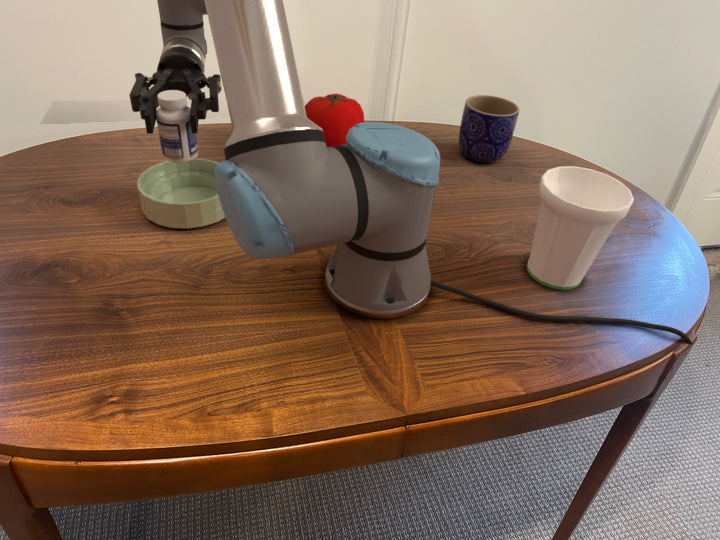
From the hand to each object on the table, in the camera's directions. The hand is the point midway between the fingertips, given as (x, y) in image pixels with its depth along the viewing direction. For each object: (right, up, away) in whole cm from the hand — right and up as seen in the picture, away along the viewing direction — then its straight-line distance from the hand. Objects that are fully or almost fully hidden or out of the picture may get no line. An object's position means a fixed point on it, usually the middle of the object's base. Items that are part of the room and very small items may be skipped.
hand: (171, 124), depth 76 cm
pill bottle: (-2, -3, +9) cm, 9 cm away
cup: (+57, -21, +8) cm, 61 cm away
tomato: (+21, +4, +35) cm, 41 cm away
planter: (+52, +4, +39) cm, 65 cm away
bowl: (-2, -10, +15) cm, 18 cm away
